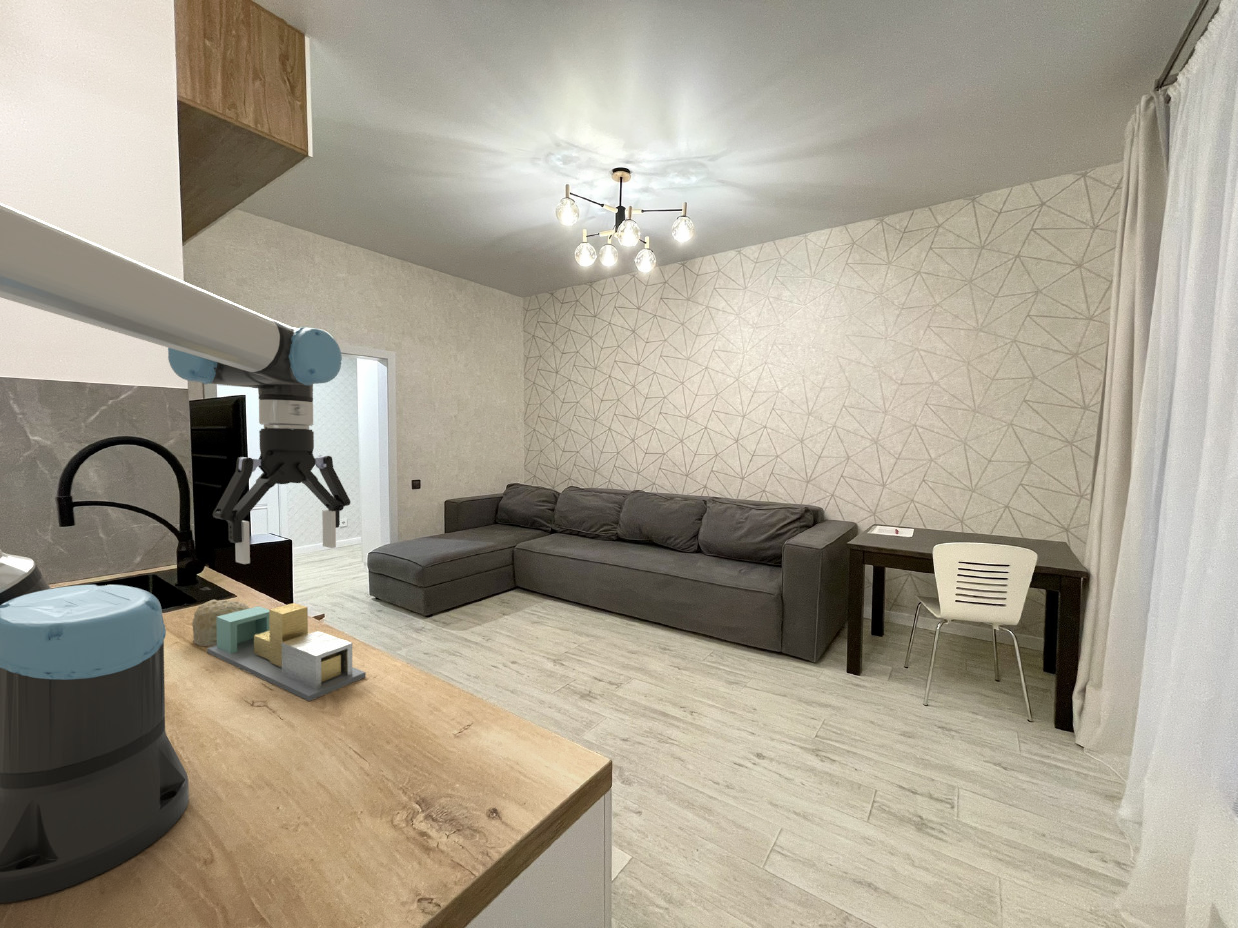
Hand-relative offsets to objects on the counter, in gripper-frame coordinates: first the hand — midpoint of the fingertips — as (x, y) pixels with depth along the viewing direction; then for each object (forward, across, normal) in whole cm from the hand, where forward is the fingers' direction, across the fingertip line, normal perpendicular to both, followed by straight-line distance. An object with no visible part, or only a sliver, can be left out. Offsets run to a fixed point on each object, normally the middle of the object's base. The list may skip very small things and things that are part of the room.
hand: (289, 554), depth 84 cm
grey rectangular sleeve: (+19, 0, -8) cm, 21 cm away
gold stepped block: (+18, 0, -2) cm, 18 cm away
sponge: (+20, 0, +24) cm, 31 cm away
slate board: (+19, 0, +2) cm, 19 cm away
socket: (+19, 0, +14) cm, 24 cm away
